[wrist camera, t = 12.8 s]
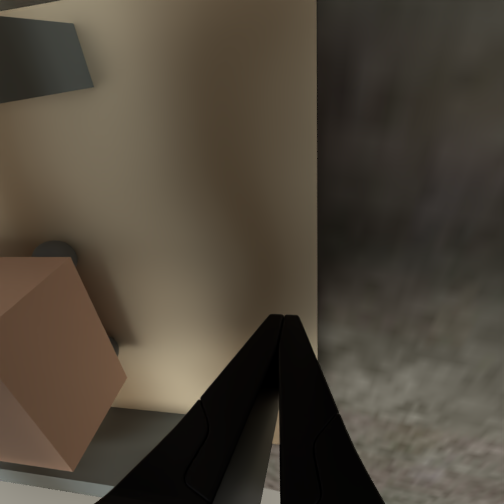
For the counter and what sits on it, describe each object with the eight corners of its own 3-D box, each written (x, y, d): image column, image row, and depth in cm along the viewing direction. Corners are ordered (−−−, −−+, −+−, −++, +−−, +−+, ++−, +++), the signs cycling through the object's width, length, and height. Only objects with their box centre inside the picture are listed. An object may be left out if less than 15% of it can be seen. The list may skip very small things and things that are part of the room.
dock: (316, -21, 8) (316, -122, 3) (317, 396, 16) (318, 537, 11) (-171, 60, 11) (-529, 69, 6) (41, 373, 19) (-46, 476, 14)
